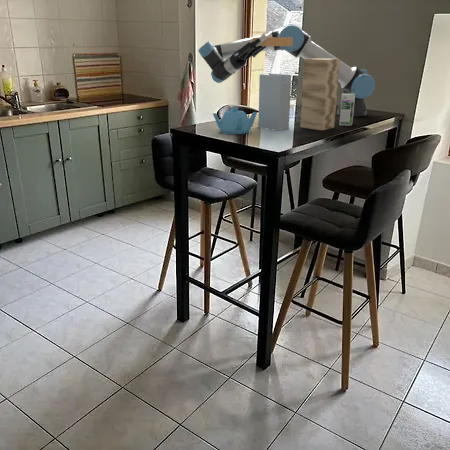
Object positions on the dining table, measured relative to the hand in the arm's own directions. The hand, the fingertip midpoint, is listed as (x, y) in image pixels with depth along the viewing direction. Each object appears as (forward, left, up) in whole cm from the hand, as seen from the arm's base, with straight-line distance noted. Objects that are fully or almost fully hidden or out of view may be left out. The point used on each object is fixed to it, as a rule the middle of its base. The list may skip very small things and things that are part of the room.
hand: (268, 36), depth 204 cm
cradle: (-1, +6, -39) cm, 40 cm away
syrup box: (-37, +9, -40) cm, 55 cm away
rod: (-1, +2, -4) cm, 5 cm away
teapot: (+19, +11, -40) cm, 45 cm away
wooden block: (-21, +11, -39) cm, 46 cm away
